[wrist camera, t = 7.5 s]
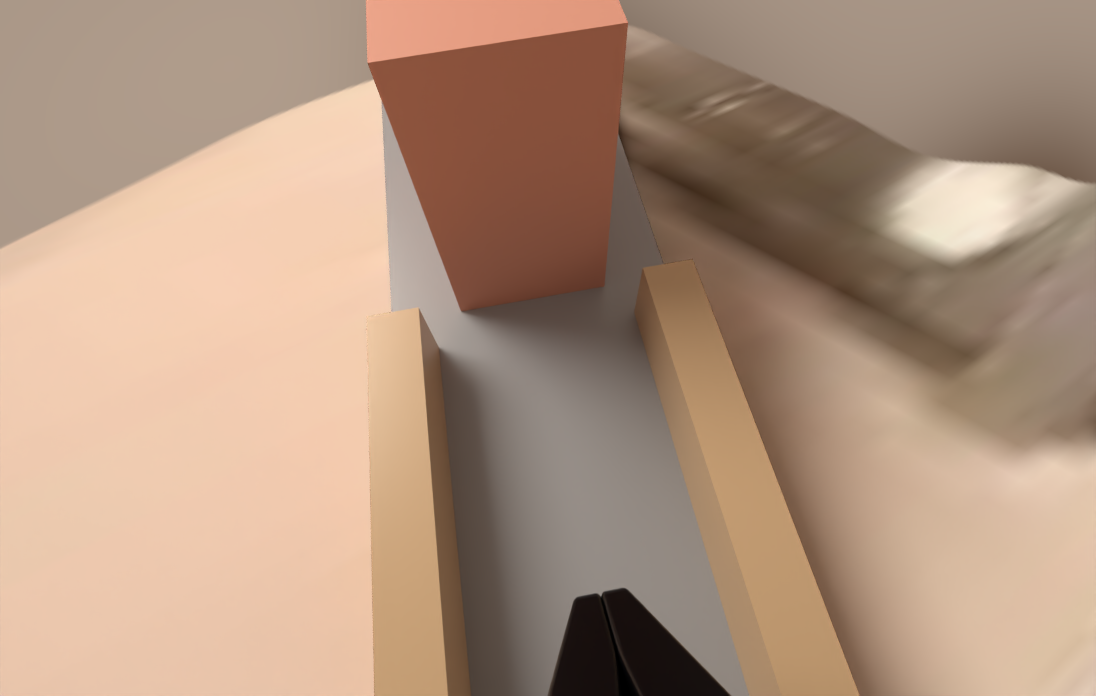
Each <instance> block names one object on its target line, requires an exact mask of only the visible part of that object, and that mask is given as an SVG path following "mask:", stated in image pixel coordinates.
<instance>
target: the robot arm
mask: <svg viewBox="0 0 1096 696" xmlns="http://www.w3.org/2000/svg"><path fill="white" fill-rule="evenodd" d="M547 696H731V695H730V694H729V693H728V692H727V691H726V690H725V688H724V687H723V686H722V685H721V684H720V683H719V682H718V681H717V680H716V679H715V678H714V677H713V676H712V675H711V674H710V673H709V672H708V671H707V670H706V669H705V668H704V667H703V666H702V665H701V664H700V663H699V662H698V661H697V660H696V659H695V658H694V657H693V656H692V655H691V654H690V653H689V652H688V650H687V649H686V648H685V647H684V646H683V645H682V644H681V643H680V642H679V641H678V640H677V639H676V638H675V637H674V636H673V635H672V634H671V633H670V632H669V631H668V630H667V629H666V628H665V627H664V626H663V625H662V624H661V623H660V622H659V621H658V620H657V619H656V618H655V617H654V616H653V615H652V614H651V612H650V611H649V610H648V609H647V608H646V607H645V606H644V605H643V604H642V603H641V602H640V601H639V600H638V599H637V598H636V597H635V596H634V595H633V594H632V593H631V592H630V591H629V590H628V589H626V588H618V589H613V590H608V591H604V592H603V593H602V595H601V596H600V595H599V594H598V593H593V594H588V595H583V596H578V597H576V598H575V599H574V601H573V604H572V608H571V611H570V615H569V618H568V622H567V626H566V629H565V633H564V637H563V640H562V644H561V648H560V651H559V655H558V658H557V662H556V666H555V669H554V673H553V677H552V680H551V684H550V688H549V691H548V695H547Z"/></svg>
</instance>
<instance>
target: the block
mask: <svg viewBox="0 0 1096 696" xmlns="http://www.w3.org/2000/svg"><path fill="white" fill-rule="evenodd" d="M366 16H367V17H366V18H367V56H368V58H367V59H368V65H369V68H370V71H371V73H372V76H373V79H374V81H375V84H376V87H377V89H378V92H379V95H380V97H381V100H382V103H383V105H384V108H385V111H386V113H387V116H388V119H389V121H390V124H391V126H392V129H393V132H394V134H395V137H396V140H397V142H398V145H399V148H400V150H401V153H402V156H403V158H404V161H405V164H406V166H407V169H408V172H409V174H410V177H411V180H412V182H413V185H414V188H415V190H416V193H417V196H418V198H419V201H420V204H421V206H422V209H423V212H424V214H425V217H426V220H427V222H428V225H429V228H430V230H431V233H432V236H433V238H434V241H435V244H436V246H437V249H438V252H439V254H440V257H441V260H442V262H443V265H444V268H445V270H446V273H447V276H448V278H449V281H450V284H451V286H452V289H453V292H454V294H455V297H456V300H457V302H458V305H459V308H460V310H461V311H466V310H472V309H478V308H484V307H489V306H495V305H501V304H507V303H512V302H518V301H524V300H529V299H535V298H541V297H547V296H552V295H558V294H564V293H570V292H575V291H581V290H587V289H592V288H598V287H604V285H605V274H606V263H607V251H608V240H609V229H610V218H611V207H612V195H613V184H614V173H615V162H616V151H617V139H618V128H619V117H620V106H621V94H622V83H623V72H624V61H625V50H626V38H627V27H628V22H627V19H626V17H625V15H624V12H623V10H622V7H621V5H620V3H619V0H366Z"/></svg>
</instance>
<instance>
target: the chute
mask: <svg viewBox="0 0 1096 696" xmlns="http://www.w3.org/2000/svg"><path fill="white" fill-rule="evenodd" d="M382 119H383V140H384V162H385V183H386V204H387V225H388V247H389V268H390V289H391V311H392V312H389V313H383V314H378V315H372V316H367V363H368V412H369V460H370V508H371V557H372V605H373V654H374V696H547V695H548V691H549V688H550V684H551V680H552V677H553V673H554V669H555V666H556V662H557V658H558V655H559V651H560V648H561V644H562V640H563V637H564V633H565V629H566V626H567V622H568V618H569V615H570V611H571V608H572V604H573V601H574V599H575V598H576V597H578V596H583V595H588V594H593V593H598V594H599V595H600V596H601V595H602V593H603V592H604V591H608V590H613V589H618V588H626V589H628V590H629V591H630V592H631V593H632V594H633V595H634V596H635V597H636V598H637V599H638V600H639V601H640V602H641V603H642V604H643V605H644V606H645V607H646V608H647V609H648V610H649V611H650V612H651V614H652V615H653V616H654V617H655V618H656V619H657V620H658V621H659V622H660V623H661V624H662V625H663V626H664V627H665V628H666V629H667V630H668V631H669V632H670V633H671V634H672V635H673V636H674V637H675V638H676V639H677V640H678V641H679V642H680V643H681V644H682V645H683V646H684V647H685V648H686V649H687V650H688V652H689V653H690V654H691V655H692V656H693V657H694V658H695V659H696V660H697V661H698V662H699V663H700V664H701V665H702V666H703V667H704V668H705V669H706V670H707V671H708V672H709V673H710V674H711V675H712V676H713V677H714V678H715V679H716V680H717V681H718V682H719V683H720V684H721V685H722V686H723V687H724V688H725V690H726V691H727V692H728V693H729V694H730V695H731V696H860V695H859V693H858V690H857V687H856V685H855V682H854V680H853V677H852V674H851V672H850V669H849V666H848V664H847V661H846V659H845V656H844V653H843V651H842V648H841V646H840V643H839V640H838V638H837V635H836V632H835V630H834V627H833V625H832V622H831V619H830V617H829V614H828V612H827V609H826V606H825V604H824V601H823V599H822V596H821V593H820V591H819V588H818V585H817V583H816V580H815V578H814V575H813V572H812V570H811V567H810V565H809V562H808V559H807V557H806V554H805V551H804V549H803V546H802V544H801V541H800V538H799V536H798V533H797V531H796V528H795V525H794V523H793V520H792V518H791V515H790V512H789V510H788V507H787V504H786V502H785V499H784V497H783V494H782V491H781V489H780V486H779V484H778V481H777V478H776V476H775V473H774V470H773V468H772V465H771V463H770V460H769V457H768V455H767V452H766V450H765V447H764V444H763V442H762V439H761V437H760V434H759V431H758V429H757V426H756V423H755V421H754V418H753V416H752V413H751V410H750V408H749V405H748V403H747V400H746V397H745V395H744V392H743V389H742V387H741V384H740V382H739V379H738V376H737V374H736V371H735V369H734V366H733V363H732V361H731V358H730V356H729V353H728V350H727V348H726V345H725V342H724V340H723V337H722V335H721V332H720V329H719V327H718V324H717V322H716V319H715V316H714V314H713V311H712V308H711V306H710V303H709V301H708V298H707V295H706V293H705V290H704V288H703V285H702V282H701V280H700V277H699V275H698V272H697V269H696V267H695V264H694V261H693V259H690V260H684V261H678V262H673V263H667V264H663V261H662V258H661V255H660V252H659V249H658V246H657V244H656V241H655V238H654V235H653V232H652V229H651V226H650V223H649V221H648V218H647V215H646V212H645V209H644V206H643V203H642V201H641V198H640V195H639V192H638V189H637V186H636V183H635V180H634V178H633V175H632V172H631V169H630V166H629V163H628V160H627V158H626V155H625V152H624V149H623V146H622V143H621V140H620V137H619V135H618V139H617V151H616V162H615V173H614V184H613V195H612V207H611V218H610V229H609V240H608V251H607V263H606V274H605V285H604V287H598V288H592V289H587V290H581V291H575V292H570V293H564V294H558V295H552V296H547V297H541V298H535V299H529V300H524V301H518V302H512V303H507V304H501V305H495V306H489V307H484V308H478V309H472V310H466V311H461V310H460V308H459V305H458V302H457V300H456V297H455V294H454V292H453V289H452V286H451V284H450V281H449V278H448V276H447V273H446V270H445V268H444V265H443V262H442V260H441V257H440V254H439V252H438V249H437V246H436V244H435V241H434V238H433V236H432V233H431V230H430V228H429V225H428V222H427V220H426V217H425V214H424V212H423V209H422V206H421V204H420V201H419V198H418V196H417V193H416V190H415V188H414V185H413V182H412V180H411V177H410V174H409V172H408V169H407V166H406V164H405V161H404V158H403V156H402V153H401V150H400V148H399V145H398V142H397V140H396V137H395V134H394V132H393V129H392V126H391V124H390V121H389V119H388V116H387V113H386V111H385V108H384V105H383V103H382Z"/></svg>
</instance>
